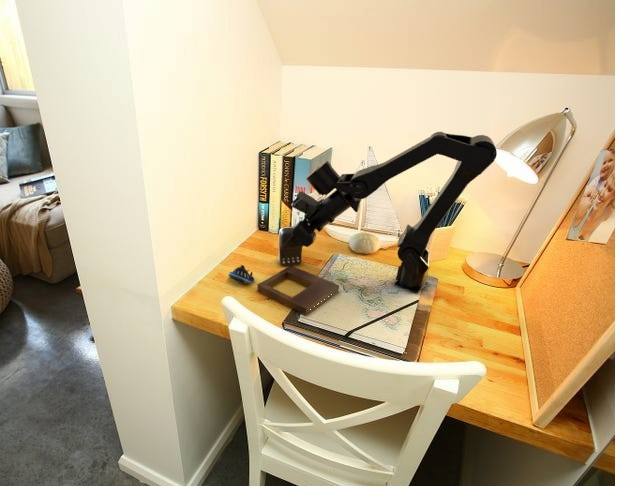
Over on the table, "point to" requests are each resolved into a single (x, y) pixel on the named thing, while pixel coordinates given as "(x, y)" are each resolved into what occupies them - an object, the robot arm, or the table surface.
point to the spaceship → (241, 275)
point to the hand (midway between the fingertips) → (289, 239)
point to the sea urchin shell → (364, 243)
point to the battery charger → (288, 249)
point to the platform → (306, 298)
